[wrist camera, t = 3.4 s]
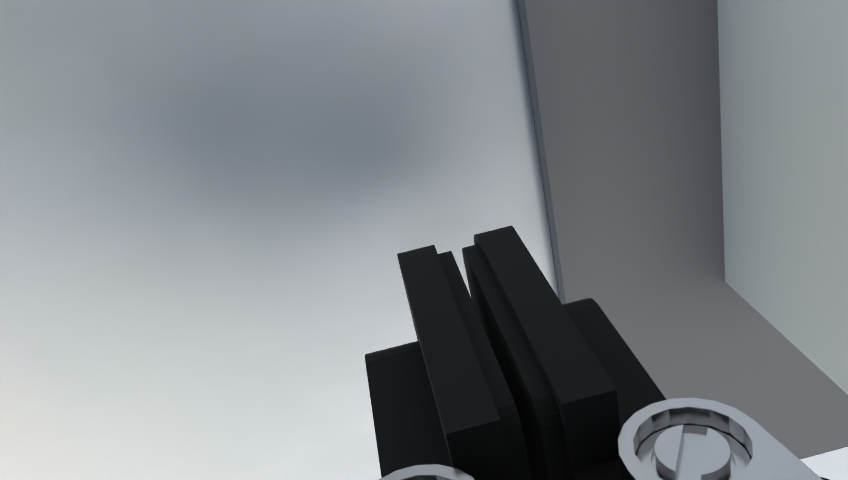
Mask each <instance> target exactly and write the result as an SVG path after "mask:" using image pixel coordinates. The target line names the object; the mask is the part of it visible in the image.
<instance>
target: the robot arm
mask: <svg viewBox="0 0 848 480" xmlns="http://www.w3.org/2000/svg"><path fill="white" fill-rule="evenodd" d="M474 244H475V245H473V246H469V247H465V248H462V252H463V259H464V264H465V269H466V274H467V279H468V284H469V289H470V294H471V297H470V295H469V292H468V290H467V287H466V285H465V283H464V280H463V278H462V275H461V273H460V271H459V268H458V266H457V264H456V261H455V259H454V256H453V254H452V252H451V251H449V252H445V253H441V254H437V251H436V248H435V246H434V245H431V246H427V247H423V248H419V249H415V250H411V251H407V252H403V253H399V254H397V256H398V260H399V265H400V269H401V273H402V277H403V281H404V285H405V289H406V294H407V298H408V302H409V306H410V310H411V314H412V318H413V322H414V327H415V331H416V335H417V339H418V341H416V342H412V343H408V344H404V345H401V346H397V347H393V348H389V349H385V350H381V351H377V352H373V353H369V354H365V362H366V369H367V376H368V383H369V390H370V398H371V405H372V412H373V419H374V426H375V433H376V441H377V448H378V455H379V462H380V469H381V476H382V478H381V479H379V480H829V479H826V478H822V477H819V476H818V475H817V474H816V473H814V472H813V471H812V470H811V469H810V468H809V467H808V466H806V465H805V464H804V463H803V462H802V461H801V460H799V459H798V458H797V457H796V456H795V455H794V454H793V453H791V452H790V451H789V450H788V449H787V448H786V447H784V446H783V445H782V444H781V443H780V442H779V441H778V440H776V439H775V438H774V437H773V436H772V435H771V434H769V433H768V432H767V431H766V430H765V429H764V428H763V427H761V426H760V425H759V424H758V423H757V422H756V421H754V420H753V419H752V418H750V417H749V416H747V415H746V414H744V413H743V412H741V411H739V410H738V409H736V408H734V407H731V406H728V405H726V404H723V403H720V402H717V401H713V400H706V399H699V398H674V399H668V400H667V399H666V398H665V397H664V395H663V394H662V392H661V391H660V390H659V388H658V387H657V386H656V384H655V383H654V381H653V380H652V379H651V377H650V376H649V374H648V373H647V372H646V370H645V369H644V367H643V366H642V365H641V363H640V362H639V360H638V359H637V358H636V356H635V355H634V354H633V352H632V351H631V349H630V348H629V347H628V345H627V344H626V342H625V341H624V340H623V338H622V337H621V335H620V334H619V333H618V331H617V330H616V329H615V327H614V326H613V324H612V323H611V322H610V320H609V319H608V317H607V316H606V315H605V313H604V312H603V310H602V309H601V308H600V306H599V305H598V304H597V302H596V301H595V300H594V299H593V298H586V299H582V300H578V301H574V302H570V303H566V304H562V303H561V302H560V300H559V299H558V297H557V296H556V294H555V292H554V291H553V289H552V288H551V286H550V284H549V283H548V281H547V280H546V278H545V277H544V275H543V273H542V272H541V270H540V269H539V267H538V266H537V264H536V262H535V261H534V259H533V258H532V256H531V254H530V253H529V251H528V250H527V248H526V247H525V245H524V243H523V242H522V240H521V239H520V237H519V235H518V234H517V232H516V231H515V229H514V228H513V227H512V226H508V227H504V228H500V229H496V230H492V231H488V232H484V233H480V234H476V235H474Z"/></svg>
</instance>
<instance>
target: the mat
mask: <svg viewBox="0 0 848 480" xmlns="http://www.w3.org/2000/svg"><path fill="white" fill-rule="evenodd" d="M518 7H519V14H520V21H521V28H522V36H523V43H524V50H525V57H526V64H527V71H528V78H529V86H530V93H531V100H532V107H533V114H534V121H535V128H536V136H537V143H538V150H539V157H540V164H541V171H542V178H543V186H544V193H545V200H546V207H547V214H548V221H549V228H550V236H551V243H552V250H553V257H554V264H555V271H556V278H557V285H558V293H559V300H560V302H561V303H562V304H566V303H570V302H574V301H578V300H582V299H586V298H593V299H594V300H595V301H596V302H597V304H598V305H599V306H600V308H601V309H602V310H603V312H604V313H605V315H606V316H607V317H608V319H609V320H610V322H611V323H612V324H613V326H614V327H615V329H616V330H617V331H618V333H619V334H620V335H621V337H622V338H623V340H624V341H625V342H626V344H627V345H628V347H629V348H630V349H631V351H632V352H633V354H634V355H635V356H636V358H637V359H638V360H639V362H640V363H641V365H642V366H643V367H644V369H645V370H646V372H647V373H648V374H649V376H650V377H651V379H652V380H653V381H654V383H655V384H656V386H657V387H658V388H659V390H660V391H661V392H662V394H663V395H664V397H665V398H666V399H667V400H668V399H674V398H699V399H706V400H713V401H717V402H720V403H723V404H726V405H728V406H731V407H734V408H736V409H738V410H739V411H741V412H743V413H744V414H746V415H747V416H749V417H750V418H752V419H753V420H754V421H756V422H757V423H758V424H759V425H760V426H761V427H763V428H764V429H765V430H766V431H767V432H768V433H769V434H771V435H772V436H773V437H774V438H775V439H776V440H778V441H779V442H780V443H781V444H782V445H783V446H784V447H786V448H787V449H788V450H789V451H790V452H791V453H793V454H794V455H795V456H796V457H797V458H798V459H803V458H807V457H811V456H814V455H818V454H822V453H825V452H829V451H833V450H837V449H840V448H844V447H848V395H847V394H846V393H845V392H844V391H843V390H842V389H841V388H840V387H839V386H838V385H837V384H835V383H834V382H833V381H832V380H831V379H830V378H829V377H828V376H827V375H826V374H825V373H824V372H822V371H821V370H820V369H819V368H818V367H817V366H816V365H815V364H814V363H813V362H812V361H811V360H809V359H808V358H807V357H806V356H805V355H804V354H803V353H802V352H801V351H800V350H799V349H798V348H796V347H795V346H794V345H793V344H792V343H791V342H790V341H789V340H788V339H787V338H786V337H785V336H783V335H782V334H781V333H780V332H779V331H778V330H777V329H776V328H775V327H774V326H773V325H772V324H770V323H769V322H768V321H767V320H766V319H765V318H764V317H763V316H762V315H761V314H760V313H759V312H757V311H756V310H755V309H754V308H753V307H752V306H751V305H750V304H749V303H748V302H747V301H746V300H744V299H743V298H742V297H741V296H740V295H739V294H738V293H737V292H736V291H735V290H734V289H733V288H731V287H730V286H729V285H728V284H727V283H726V282H725V259H724V223H723V186H722V149H721V112H720V75H719V39H718V2H717V0H518Z"/></svg>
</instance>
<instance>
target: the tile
mask: <svg viewBox="0 0 848 480" xmlns="http://www.w3.org/2000/svg"><path fill="white" fill-rule="evenodd" d="M717 2H718V39H719V75H720V112H721V149H722V186H723V223H724V259H725V282H726V283H727V284H728V285H729V286H730V287H731V288H733V289H734V290H735V291H736V292H737V293H738V294H739V295H740V296H741V297H742V298H743V299H744V300H746V301H747V302H748V303H749V304H750V305H751V306H752V307H753V308H754V309H755V310H756V311H757V312H759V313H760V314H761V315H762V316H763V317H764V318H765V319H766V320H767V321H768V322H769V323H770V324H772V325H773V326H774V327H775V328H776V329H777V330H778V331H779V332H780V333H781V334H782V335H783V336H785V337H786V338H787V339H788V340H789V341H790V342H791V343H792V344H793V345H794V346H795V347H796V348H798V349H799V350H800V351H801V352H802V353H803V354H804V355H805V356H806V357H807V358H808V359H809V360H811V361H812V362H813V363H814V364H815V365H816V366H817V367H818V368H819V369H820V370H821V371H822V372H824V373H825V374H826V375H827V376H828V377H829V378H830V379H831V380H832V381H833V382H834V383H835V384H837V385H838V386H839V387H840V388H841V389H842V390H843V391H844V392H845V393H846V394H847V395H848V0H717Z"/></svg>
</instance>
